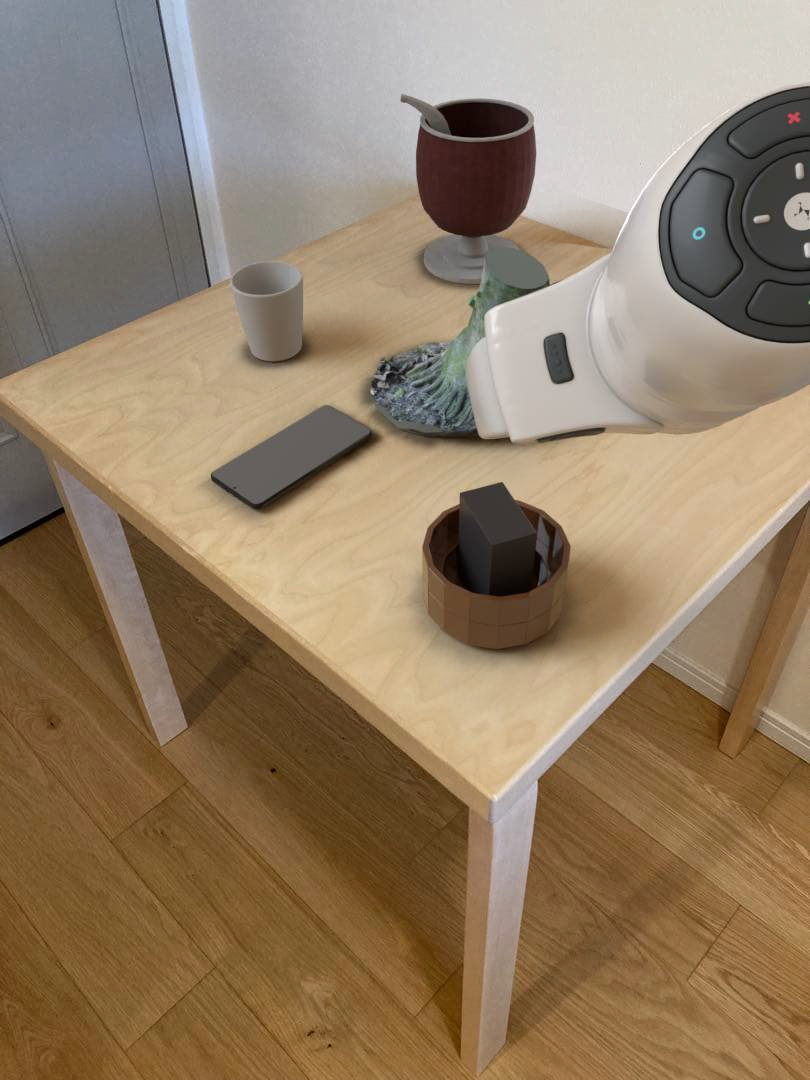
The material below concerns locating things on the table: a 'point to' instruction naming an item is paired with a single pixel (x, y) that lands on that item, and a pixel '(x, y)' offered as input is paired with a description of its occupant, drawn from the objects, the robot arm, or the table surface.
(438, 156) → the mate gourd
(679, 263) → the robot arm
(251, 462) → the smartphone
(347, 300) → the table surface
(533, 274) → the tree stump
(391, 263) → the table surface
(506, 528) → the case
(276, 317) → the cup
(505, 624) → the bowl
